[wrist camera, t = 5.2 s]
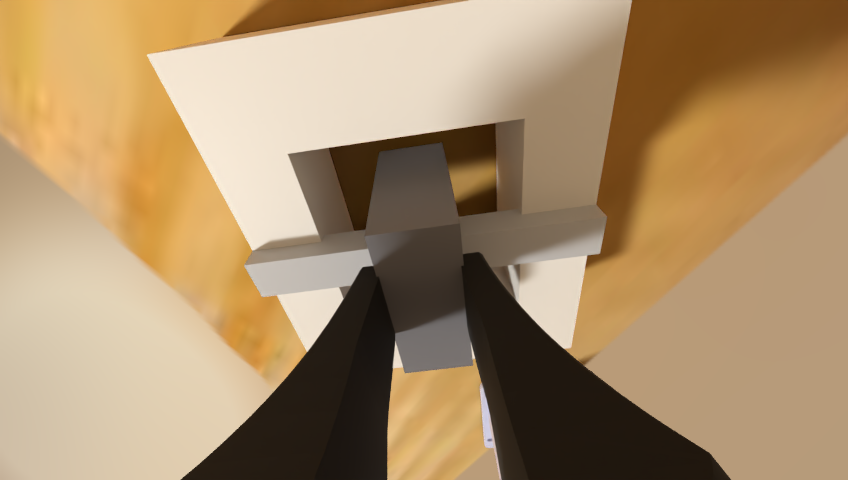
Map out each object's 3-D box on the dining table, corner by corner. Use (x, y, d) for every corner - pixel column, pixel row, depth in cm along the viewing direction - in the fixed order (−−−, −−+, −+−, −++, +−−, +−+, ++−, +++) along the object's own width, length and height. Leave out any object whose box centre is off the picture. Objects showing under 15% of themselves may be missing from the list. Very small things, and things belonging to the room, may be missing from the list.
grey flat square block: (455, 263, 16) (473, 365, 12) (405, 269, 17) (404, 373, 12) (442, 142, 13) (460, 223, 8) (379, 151, 13) (364, 236, 9)
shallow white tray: (542, 285, 20) (577, 362, 15) (335, 311, 20) (316, 392, 16) (568, -22, 11) (657, -30, 7) (221, 37, 12) (125, 59, 8)
